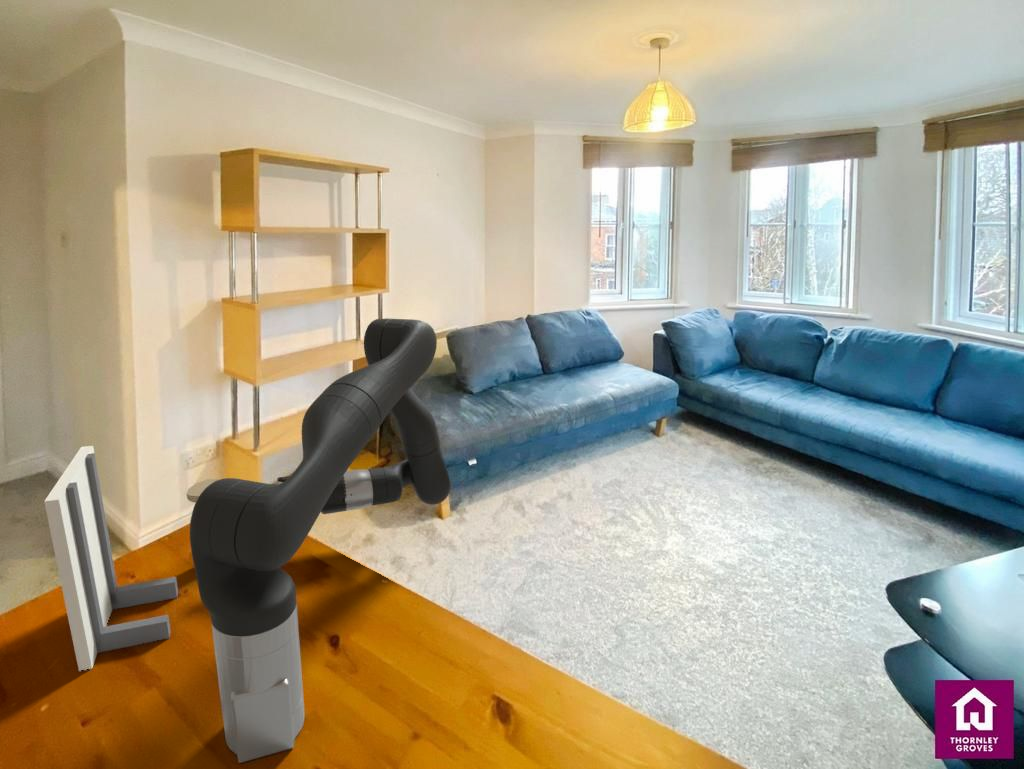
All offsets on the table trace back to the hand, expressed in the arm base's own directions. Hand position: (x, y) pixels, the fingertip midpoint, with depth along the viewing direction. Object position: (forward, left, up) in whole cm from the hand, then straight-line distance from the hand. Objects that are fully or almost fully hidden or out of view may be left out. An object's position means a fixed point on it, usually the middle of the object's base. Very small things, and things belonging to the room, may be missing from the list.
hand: (252, 503), depth 106 cm
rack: (-13, +17, -11) cm, 24 cm away
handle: (0, +7, -11) cm, 13 cm away
